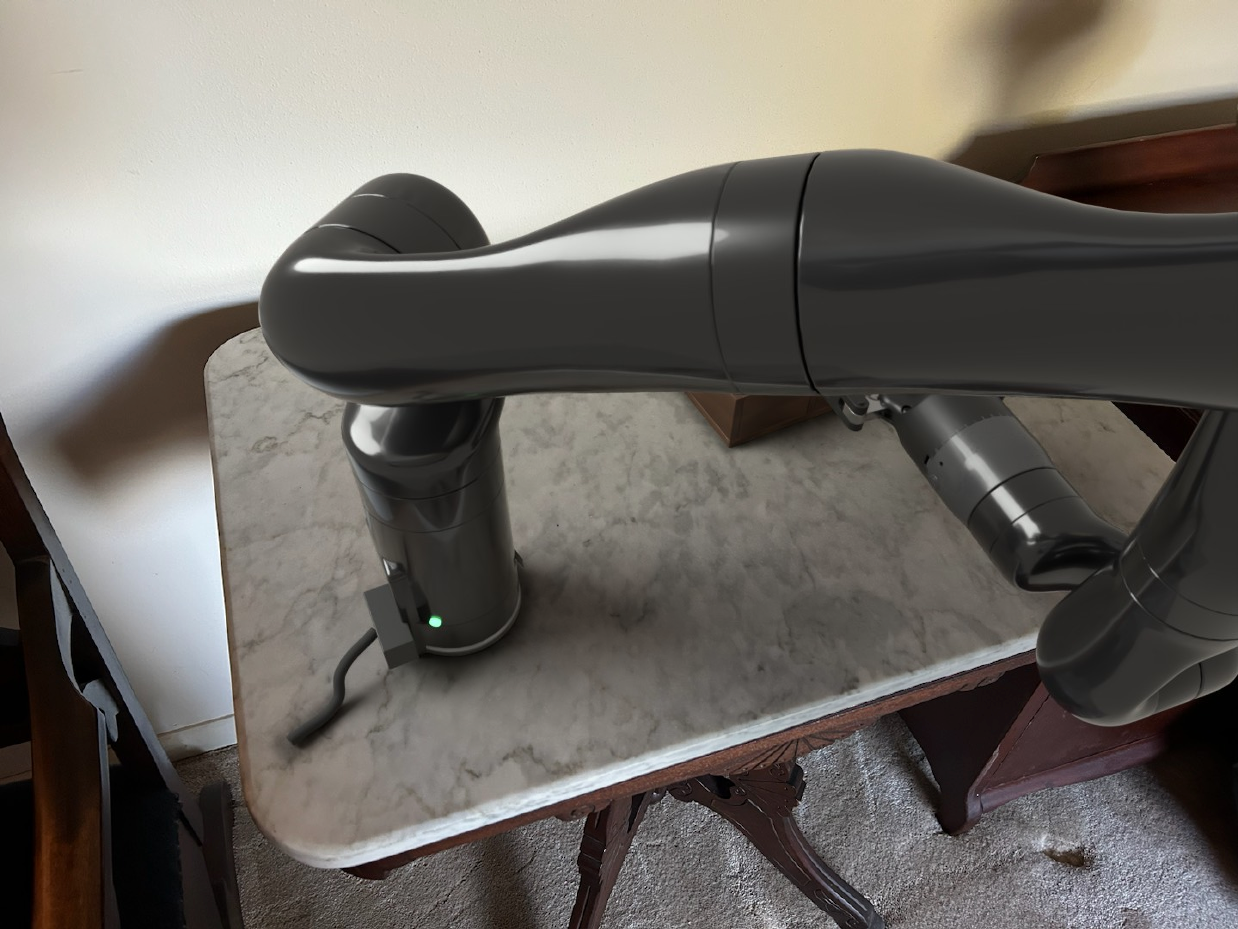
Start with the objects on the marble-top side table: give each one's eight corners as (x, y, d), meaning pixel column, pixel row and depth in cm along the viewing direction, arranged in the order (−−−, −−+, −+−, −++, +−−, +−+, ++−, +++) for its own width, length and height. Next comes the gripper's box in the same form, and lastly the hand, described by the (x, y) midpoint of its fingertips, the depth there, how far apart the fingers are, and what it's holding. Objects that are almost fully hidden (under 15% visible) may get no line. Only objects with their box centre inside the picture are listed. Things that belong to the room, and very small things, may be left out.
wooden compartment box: (728, 447, 76) (736, 400, 72) (679, 387, 82) (683, 339, 77) (882, 392, 82) (897, 345, 77) (826, 339, 87) (838, 292, 83)
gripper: (1083, 400, 59) (957, 273, 70) (903, 439, 56) (800, 300, 67) (1042, 473, 65) (931, 345, 75) (876, 511, 62) (785, 372, 72)
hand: (869, 324), depth 71 cm, fingers open, 8 cm apart
